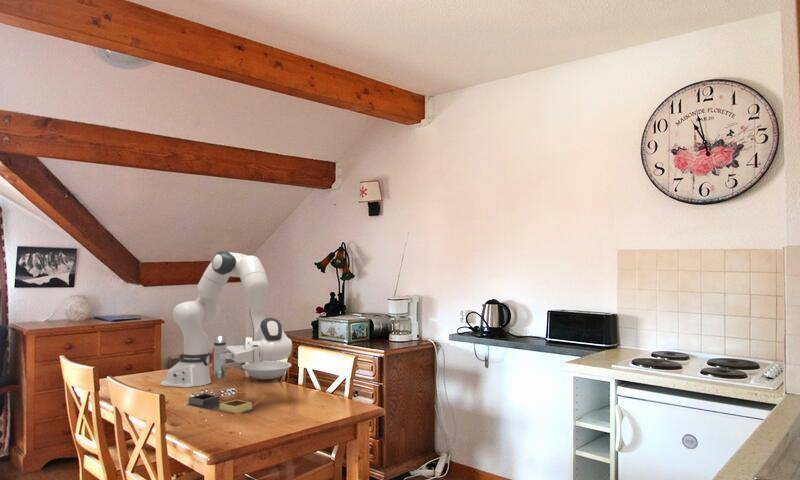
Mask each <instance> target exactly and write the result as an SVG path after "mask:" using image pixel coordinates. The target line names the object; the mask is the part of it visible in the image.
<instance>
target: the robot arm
mask: <svg viewBox="0 0 800 480" xmlns="http://www.w3.org/2000/svg"><path fill="white" fill-rule="evenodd" d="M267 276H268V275H267V274H266V270H265V268H264V266H263V264H262V262H261V261H260V259H259V257H257V256H256V255H250V254H249V255H248V254H244V253H240V252H231V251H228V250H224V251H218V252H216V253H215V254H214V256H213V258H212V260H211V261H210V263H209V264H208V266H207V267H206V269H205V270H204V272H203V274H202V276H201V277H200V280H199V282H198V284H197V286H196V289H197V292H198V297H197V298H196V299H195V300H188V301H184V302H180V303H179V304H177V305H176V306H175V307H174V308H173V310H172V318H173V320H174V322H175V323H176V324H177V325H178V326H179V328H180V331H181V332H182V337H183V353H181V354H180V355H179V356H178V359H179V361H178V362H177V363H176V364H174V365H173V366H172V367H171V368H169V369H168V370H167V373H166V375H165V376H166V377H165V379H164V380H162V381H161V382H160V386H165V387H175V388H177V387H178V388H193V387H198V386H199V387H202V386H206V385H209V384H211V383H212V379H211V375H210V368H209V367H210V358H211V357H210V352H209V346H210V345H209V342H210V341H209V340H210V339H209V335H208V334H207V333H206V332H205V331H204V329H203V324H205V323H210V322H212V321H214V320H216V319H217V318H218V317H219V316H220V314H221V313H220V312H221V308H220V305H219V299H220V296H221V295H222V292H223V290H224V288H225V287H226V284H227V282H228V281H229V279H230V278H240V281H241V286H242V290H243V293H244V296H245V299H246V303H247V305H248V306H247V307H248V311H249V317H250V320H251V325H252V330H253V335H252V341H251V340H250V341H249V340H248V341H247V344H244V345H226V354H219V358H220V359H226V360H231V361H233V362H234V363H238V364H241V363H242V364H246V363H254V364H256V363H260V362H264V361H282V360H286V359H288V358H289V357H290V356H291V354H292V353H293V352H292V351H293V340H292V339H290V338H289V337H288V336H287V334H286V332H285V331H284V329H283V327H282V324H281V322H280V320H278V319H277V318H274V317H266V311H265V307H266V306H265V304H266V300H267V296H268V292H269V281H268V277H267Z"/></svg>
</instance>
